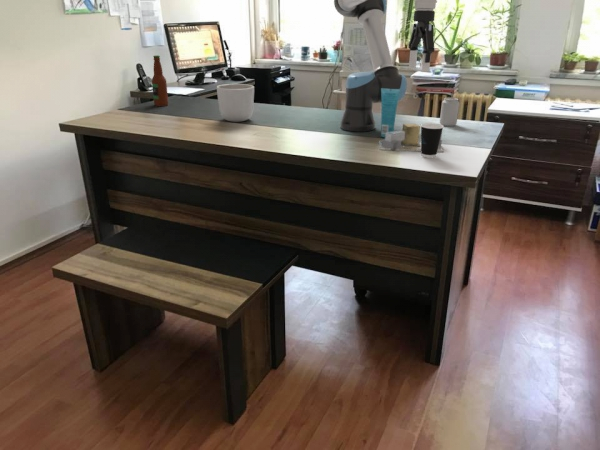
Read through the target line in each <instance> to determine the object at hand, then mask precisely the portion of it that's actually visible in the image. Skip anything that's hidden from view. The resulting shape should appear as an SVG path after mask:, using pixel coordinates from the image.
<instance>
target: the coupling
mask: <svg viewBox="0 0 600 450" xmlns="http://www.w3.org/2000/svg"><path fill="white" fill-rule="evenodd" d="M401 131H404V132H405V139H404V140H401V142H402V143H404V144H405V145H418V141H419V140H420V133H421V125H418V124H417V123H402V129H401ZM419 142H420V141H419Z"/></svg>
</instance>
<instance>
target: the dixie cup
mask: <svg viewBox="0 0 600 450" xmlns="http://www.w3.org/2000/svg"><path fill="white" fill-rule="evenodd" d="M444 127H445V126H443V125H441V124H440V123H432V122H425V123H421V124H420V133H421V137H420V139H421V140H420V142H421V151H420V152H421V156H422V157H423V158H429V159H433V158H436V156H437V154H438V152H437V150H438V146H439V142H440V138H441V139H442V137H441V133H442V134H443V129H444Z"/></svg>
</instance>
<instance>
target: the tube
mask: <svg viewBox="0 0 600 450" xmlns="http://www.w3.org/2000/svg"><path fill="white" fill-rule="evenodd" d="M399 93H400V89H385V88H381V101H382V103H381V109H380V110H381V112H380V113H381V118H380V119H381V121H380V123H381V124H380V137H383V138H385V136H386V132H392V131H395V130H394V129H395V122H396V114H397V110H398V109H397V108H398V102H399V101H398V97H399Z"/></svg>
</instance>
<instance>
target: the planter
mask: <svg viewBox="0 0 600 450" xmlns="http://www.w3.org/2000/svg"><path fill="white" fill-rule="evenodd" d="M216 92H217V101H218V109H219V114H220V115H221V117H222V118H223V119H224V120H225V121H227V122H232V123H233V122H234V123H237V122H239V123H240V122H245V121H247V120H249V119H250V118H251V117H252V116H253V112H254V100H255V86H254V85H252V84H247V83H245V84H244V83H228V84H219V85H217V86H216Z"/></svg>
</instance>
